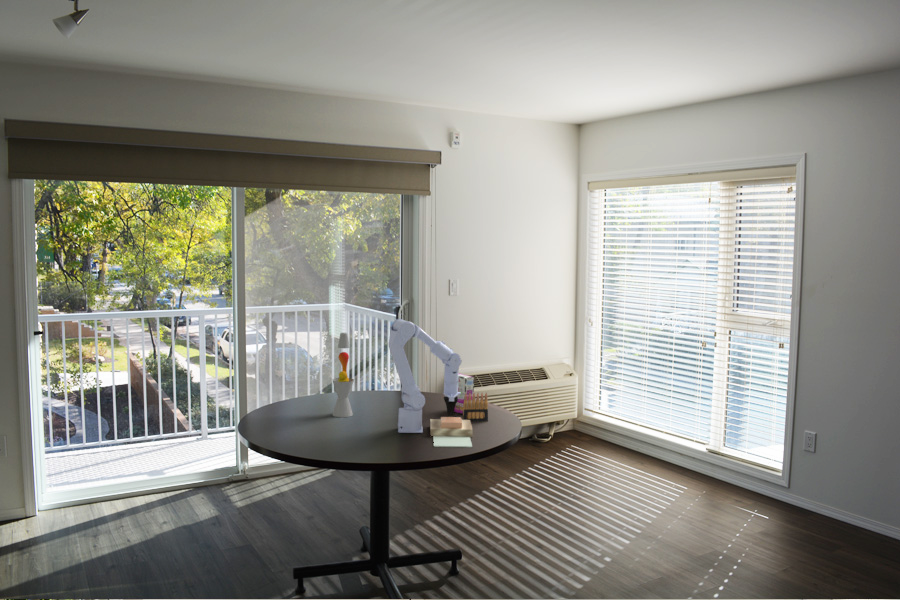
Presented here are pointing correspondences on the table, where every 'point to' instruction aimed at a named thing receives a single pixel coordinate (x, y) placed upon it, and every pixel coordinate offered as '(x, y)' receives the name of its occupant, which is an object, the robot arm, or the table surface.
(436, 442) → the mat
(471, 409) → the ammunition clip
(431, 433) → the riser
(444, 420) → the peach flat block
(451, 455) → the table surface
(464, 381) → the candy bar box
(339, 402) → the lava lamp
